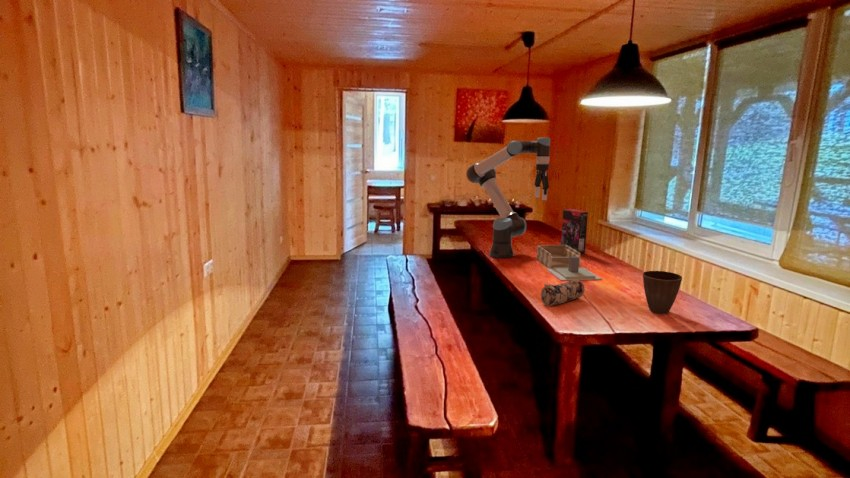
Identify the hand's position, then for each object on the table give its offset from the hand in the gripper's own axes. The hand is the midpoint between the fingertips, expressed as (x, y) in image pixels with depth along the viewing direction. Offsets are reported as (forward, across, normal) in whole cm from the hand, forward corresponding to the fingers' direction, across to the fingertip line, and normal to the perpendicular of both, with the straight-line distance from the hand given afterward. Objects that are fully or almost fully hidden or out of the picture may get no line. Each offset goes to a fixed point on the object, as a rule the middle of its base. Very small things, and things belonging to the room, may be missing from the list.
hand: (540, 198), depth 293 cm
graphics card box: (+37, +14, -28) cm, 48 cm away
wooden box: (+37, -18, -6) cm, 41 cm away
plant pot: (+37, -100, -21) cm, 108 cm away
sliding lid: (+36, -41, -6) cm, 55 cm away
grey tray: (+36, -41, -6) cm, 55 cm away
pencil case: (+37, -84, +15) cm, 93 cm away
